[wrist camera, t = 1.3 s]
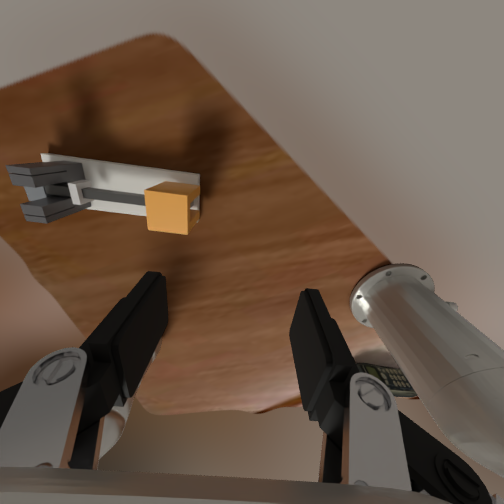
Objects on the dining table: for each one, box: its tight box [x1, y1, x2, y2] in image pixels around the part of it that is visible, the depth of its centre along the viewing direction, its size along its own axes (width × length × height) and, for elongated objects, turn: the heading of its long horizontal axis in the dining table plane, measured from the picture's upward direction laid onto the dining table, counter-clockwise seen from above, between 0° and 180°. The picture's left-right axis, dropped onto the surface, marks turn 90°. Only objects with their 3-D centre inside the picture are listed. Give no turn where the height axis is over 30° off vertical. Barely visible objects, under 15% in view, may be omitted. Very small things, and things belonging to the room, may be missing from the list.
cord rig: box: [6, 153, 200, 223], centre depth 24 cm, size 18×6×8 cm, turn 83°
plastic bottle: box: [99, 337, 162, 459], centre depth 30 cm, size 6×7×20 cm
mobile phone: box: [356, 363, 417, 397], centre depth 41 cm, size 5×3×15 cm
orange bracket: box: [144, 181, 200, 235], centre depth 23 cm, size 4×4×6 cm
